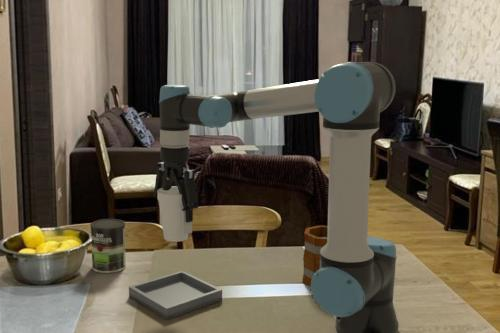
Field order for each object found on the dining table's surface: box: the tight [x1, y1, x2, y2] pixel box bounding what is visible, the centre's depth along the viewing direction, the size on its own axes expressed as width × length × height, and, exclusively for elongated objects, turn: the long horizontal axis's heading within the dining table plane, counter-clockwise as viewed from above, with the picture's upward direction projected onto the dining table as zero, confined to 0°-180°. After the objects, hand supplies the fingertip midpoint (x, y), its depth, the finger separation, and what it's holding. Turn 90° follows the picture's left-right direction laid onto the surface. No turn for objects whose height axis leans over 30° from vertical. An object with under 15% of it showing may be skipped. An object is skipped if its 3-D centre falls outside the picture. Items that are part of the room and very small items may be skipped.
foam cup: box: [157, 185, 189, 243], centre depth 157 cm, size 10×9×13 cm
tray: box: [128, 270, 223, 320], centre depth 161 cm, size 18×18×3 cm
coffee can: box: [90, 218, 127, 274], centre depth 182 cm, size 10×10×14 cm
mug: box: [301, 224, 328, 288], centre depth 174 cm, size 20×14×15 cm
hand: (175, 228), depth 158 cm, fingers closed on foam cup, 9 cm apart
